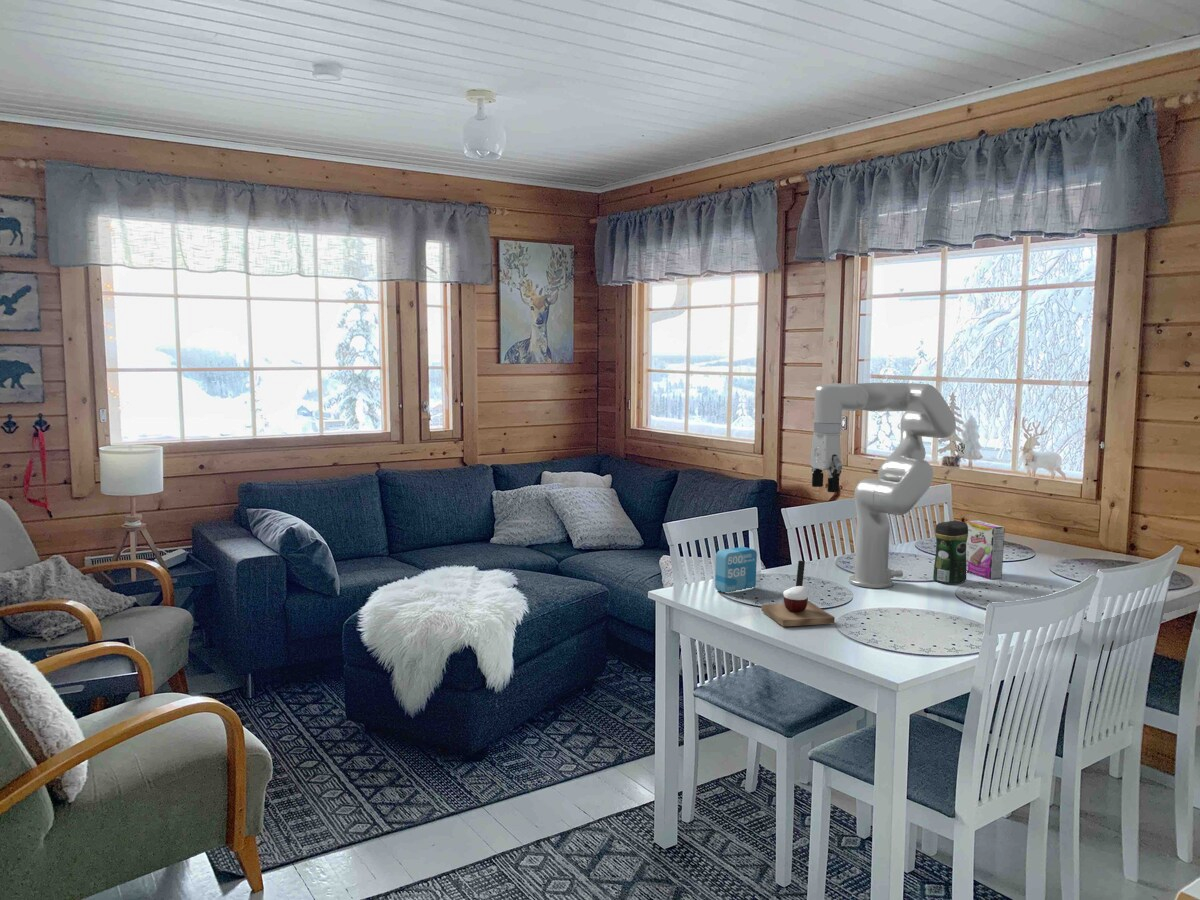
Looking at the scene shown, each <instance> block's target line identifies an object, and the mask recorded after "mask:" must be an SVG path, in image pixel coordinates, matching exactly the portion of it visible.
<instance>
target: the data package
mask: <svg viewBox="0 0 1200 900" xmlns="http://www.w3.org/2000/svg"><path fill="white" fill-rule="evenodd" d="M757 555H758V554H757V550H756V549H754V548H753V549H752V548H749V547H745V546H741V547H740V546H739V547H731V548H725V549H719V550H718V551H717V552H716V553H715V570H714V571H715V572H714V573H715V574H714V577H715V578H714V588H715V590H716V591H717V590H718V592H720V591H721V592H720V593H723V592H731V591H736V590H742V589H746V588H752V587H755V588H756V585H757V562H758V561H757V560H758V559H757Z"/></svg>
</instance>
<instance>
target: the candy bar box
mask: <svg viewBox="0 0 1200 900" xmlns="http://www.w3.org/2000/svg"><path fill="white" fill-rule="evenodd" d="M966 524H967V526H968V538H967V543H966V571H967V572H966V573H969V572H970V573H969V574H972V573H973V574H972V575H976V576H979V577H981V576H982V578H984V577H985V579H988V580H998V579H997V578H999V579H1002V577H1003V561H1004V547H1005V545H1004V544H1005V531H1006V529H1005V526H1002V525H998V524H995V523H990V522H988V521H987V522H986V521H983V520H978V519H977V520H968V521H966Z"/></svg>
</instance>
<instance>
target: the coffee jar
mask: <svg viewBox="0 0 1200 900" xmlns="http://www.w3.org/2000/svg"><path fill="white" fill-rule="evenodd" d="M934 531H935V533H934V535H935V540H936V543H935V544H936V545H935V547H936V548H935V554H934V555H935V557H934V565H933V573H932V574H933V575H932V577H933V580H934V581H935V580H936V582H937V583H940V584H943V585H944V584H949V585H956V584H961V583H964V582H966V581H967V572H966V543H967V538H968V526H967V522H965V521H960V520H955V519H954V520H949V521H944V522H938V523H937V524H936V525H935V530H934Z"/></svg>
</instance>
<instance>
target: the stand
mask: <svg viewBox="0 0 1200 900" xmlns="http://www.w3.org/2000/svg"><path fill="white" fill-rule="evenodd" d="M761 611H762V612H763V613H764V614H765V615H767V616H768V617H770V618H771V619H772V620H773V621H775V622H776V623H778V624H779V625H780V626H781V627H785V628H787V627H795V626H798V627H799V626H811V625H812V626H814V625H831V624H835V616H833V615H832V614H830V613H829V612H827V611H825V610H823V609H822V608H821V607H819V606H818V605H816V604H814V603H813V602H811V601H808V603H807V607H806V609H805V610H803V611H802V612H791V611H789V610H788V609H786V607H785V604H784V603H771V604H770V603H769V604H768V603H767V604H766V603H765V604H761Z"/></svg>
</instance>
